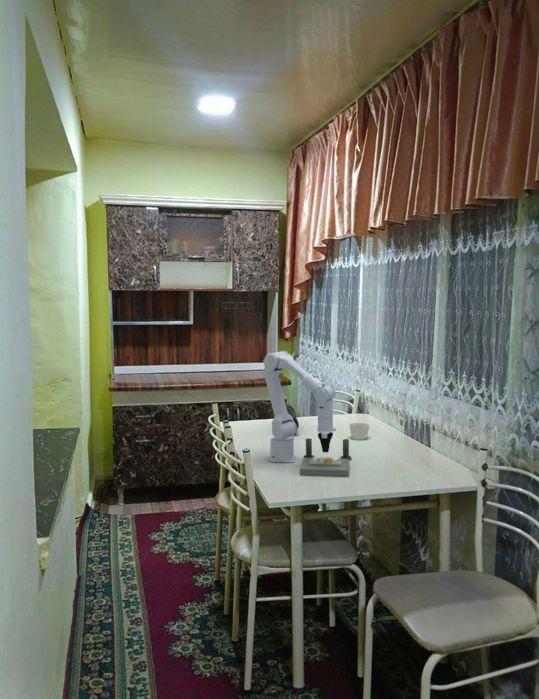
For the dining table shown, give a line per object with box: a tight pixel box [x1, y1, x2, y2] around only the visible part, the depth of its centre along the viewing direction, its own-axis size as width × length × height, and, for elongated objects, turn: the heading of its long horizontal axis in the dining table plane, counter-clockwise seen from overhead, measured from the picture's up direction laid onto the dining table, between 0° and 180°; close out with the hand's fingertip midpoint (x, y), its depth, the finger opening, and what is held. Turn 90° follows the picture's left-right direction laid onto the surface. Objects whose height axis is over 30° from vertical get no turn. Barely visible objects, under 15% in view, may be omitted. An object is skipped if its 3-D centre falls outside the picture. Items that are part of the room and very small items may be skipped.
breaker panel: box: [299, 456, 350, 478], centre depth 221 cm, size 18×14×5 cm
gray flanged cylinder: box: [303, 438, 315, 458], centre depth 237 cm, size 4×4×8 cm
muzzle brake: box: [285, 403, 300, 431], centre depth 285 cm, size 10×28×10 cm, turn 2°
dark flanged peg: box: [339, 438, 352, 462], centre depth 234 cm, size 4×4×8 cm
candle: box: [349, 422, 370, 441], centre depth 266 cm, size 9×9×6 cm
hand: (325, 451), depth 223 cm, fingers closed
